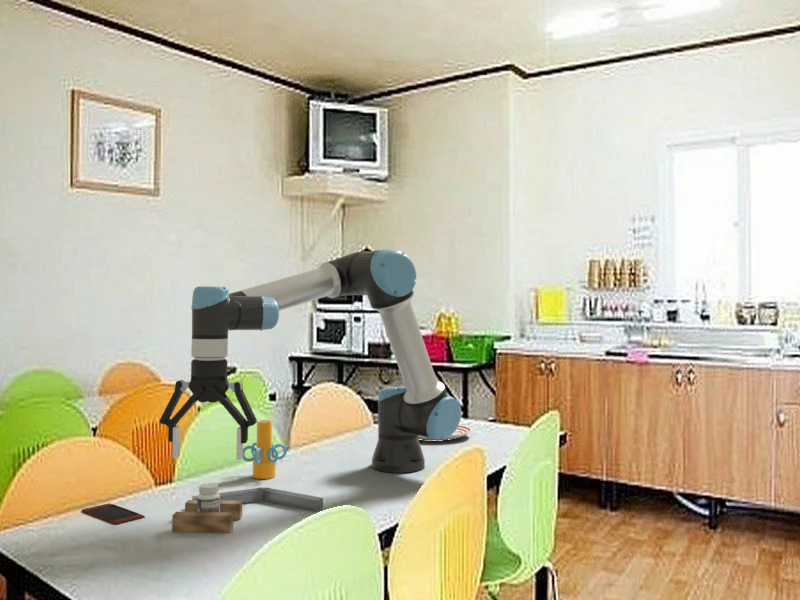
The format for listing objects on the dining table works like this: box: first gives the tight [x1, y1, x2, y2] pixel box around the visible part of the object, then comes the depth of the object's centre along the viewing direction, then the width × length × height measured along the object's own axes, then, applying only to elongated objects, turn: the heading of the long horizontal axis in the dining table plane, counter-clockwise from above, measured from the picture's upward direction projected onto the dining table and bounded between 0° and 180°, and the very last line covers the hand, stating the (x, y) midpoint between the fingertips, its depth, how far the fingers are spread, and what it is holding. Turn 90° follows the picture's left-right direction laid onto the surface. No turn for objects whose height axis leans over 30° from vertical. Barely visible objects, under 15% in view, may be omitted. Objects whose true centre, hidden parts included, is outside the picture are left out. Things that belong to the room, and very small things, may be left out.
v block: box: [191, 487, 324, 512], centre depth 173 cm, size 30×10×2 cm, turn 89°
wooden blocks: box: [171, 499, 243, 534], centre depth 158 cm, size 12×11×4 cm
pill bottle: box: [197, 482, 220, 512], centre depth 158 cm, size 5×5×8 cm
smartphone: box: [81, 502, 146, 526], centre depth 164 cm, size 7×1×15 cm
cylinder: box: [241, 419, 288, 480], centre depth 199 cm, size 12×10×15 cm
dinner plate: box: [419, 424, 473, 440], centre depth 257 cm, size 27×27×3 cm
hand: (207, 457), depth 157 cm, fingers open, 13 cm apart
